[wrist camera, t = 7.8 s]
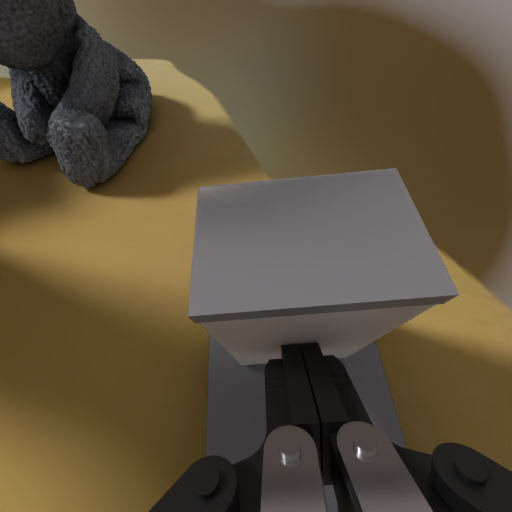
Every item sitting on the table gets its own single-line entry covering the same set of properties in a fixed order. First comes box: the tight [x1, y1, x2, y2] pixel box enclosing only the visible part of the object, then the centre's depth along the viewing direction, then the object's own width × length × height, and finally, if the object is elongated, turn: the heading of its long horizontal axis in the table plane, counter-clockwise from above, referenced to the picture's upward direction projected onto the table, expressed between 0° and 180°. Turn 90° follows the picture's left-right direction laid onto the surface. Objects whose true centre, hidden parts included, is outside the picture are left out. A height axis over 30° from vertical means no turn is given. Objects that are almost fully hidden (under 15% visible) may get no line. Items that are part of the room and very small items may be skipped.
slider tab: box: [188, 168, 459, 365], centre depth 11 cm, size 4×6×10 cm
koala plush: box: [0, 0, 152, 188], centre depth 23 cm, size 17×18×20 cm
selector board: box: [206, 334, 407, 512], centre depth 15 cm, size 22×10×2 cm, turn 3°
